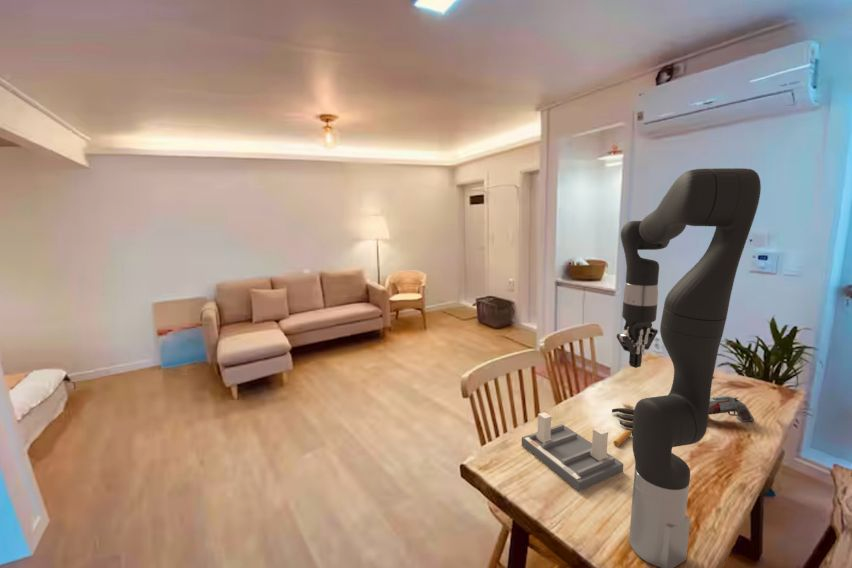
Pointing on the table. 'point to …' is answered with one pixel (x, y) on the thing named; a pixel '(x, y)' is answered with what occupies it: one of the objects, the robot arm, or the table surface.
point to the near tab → (599, 444)
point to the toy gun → (730, 407)
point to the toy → (624, 424)
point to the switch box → (572, 458)
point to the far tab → (544, 427)
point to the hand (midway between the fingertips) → (635, 366)
